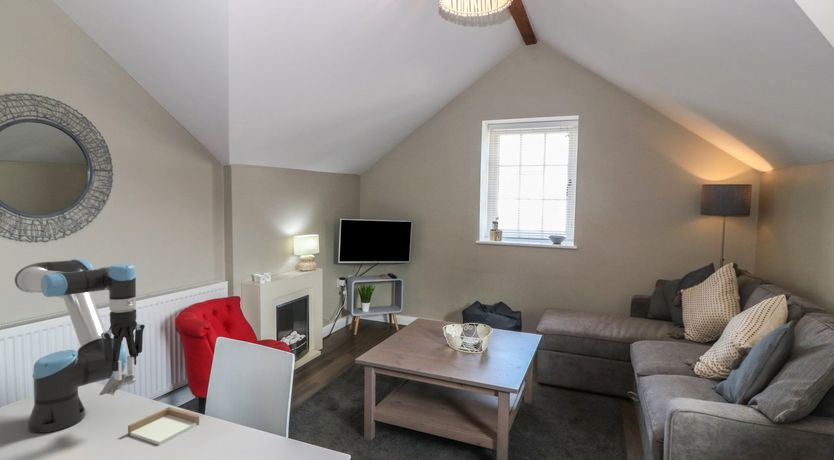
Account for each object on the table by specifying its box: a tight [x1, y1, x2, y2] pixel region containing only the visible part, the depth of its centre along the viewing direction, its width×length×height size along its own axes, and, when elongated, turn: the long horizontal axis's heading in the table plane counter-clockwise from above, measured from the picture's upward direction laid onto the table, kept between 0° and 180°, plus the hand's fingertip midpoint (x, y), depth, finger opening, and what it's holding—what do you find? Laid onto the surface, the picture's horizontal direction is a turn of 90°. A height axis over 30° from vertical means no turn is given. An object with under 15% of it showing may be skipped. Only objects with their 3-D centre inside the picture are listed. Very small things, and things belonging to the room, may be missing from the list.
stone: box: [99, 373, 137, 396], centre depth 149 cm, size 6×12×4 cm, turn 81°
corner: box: [127, 407, 200, 446], centre depth 148 cm, size 15×15×3 cm
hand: (124, 377), depth 150 cm, fingers closed on stone, 4 cm apart
